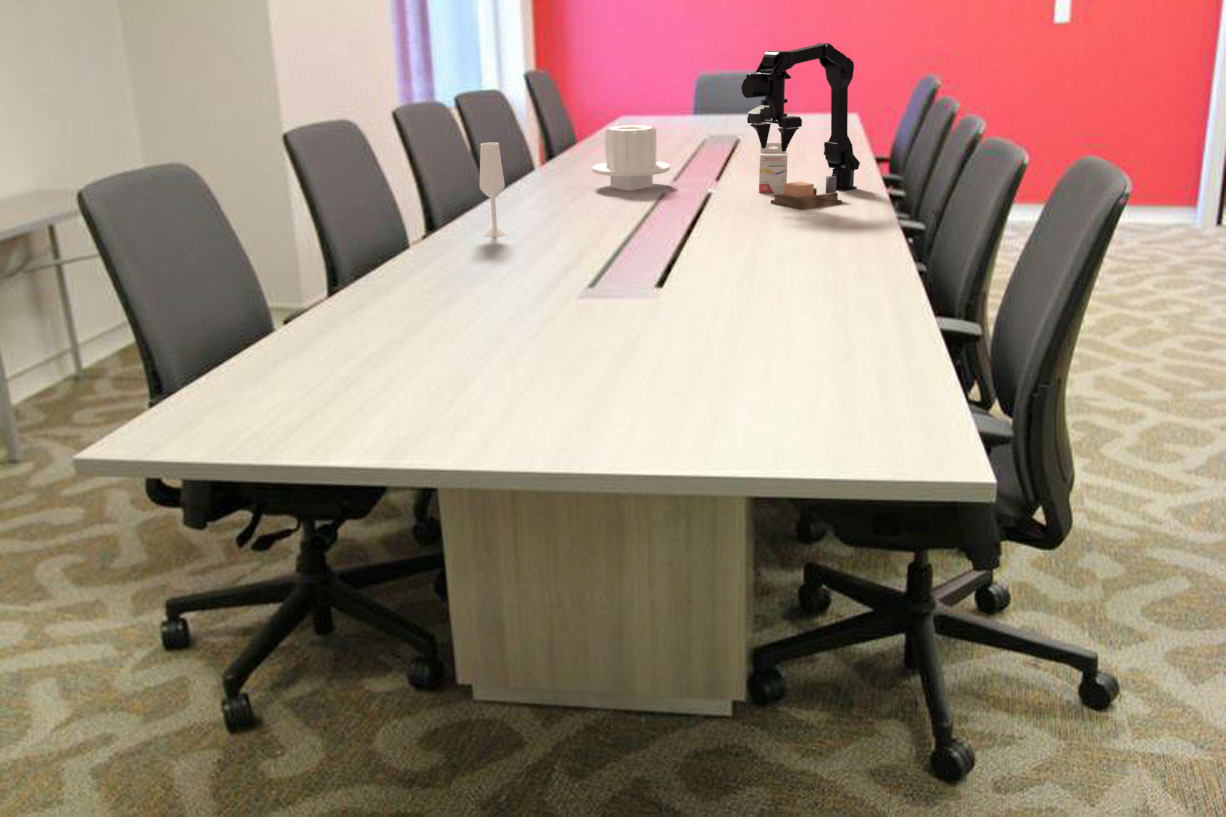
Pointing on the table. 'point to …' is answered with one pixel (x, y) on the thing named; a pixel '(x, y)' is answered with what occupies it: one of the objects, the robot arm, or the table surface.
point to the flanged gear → (631, 157)
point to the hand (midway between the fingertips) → (773, 149)
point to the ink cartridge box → (772, 169)
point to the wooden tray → (807, 200)
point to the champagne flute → (491, 180)
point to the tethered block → (808, 188)
